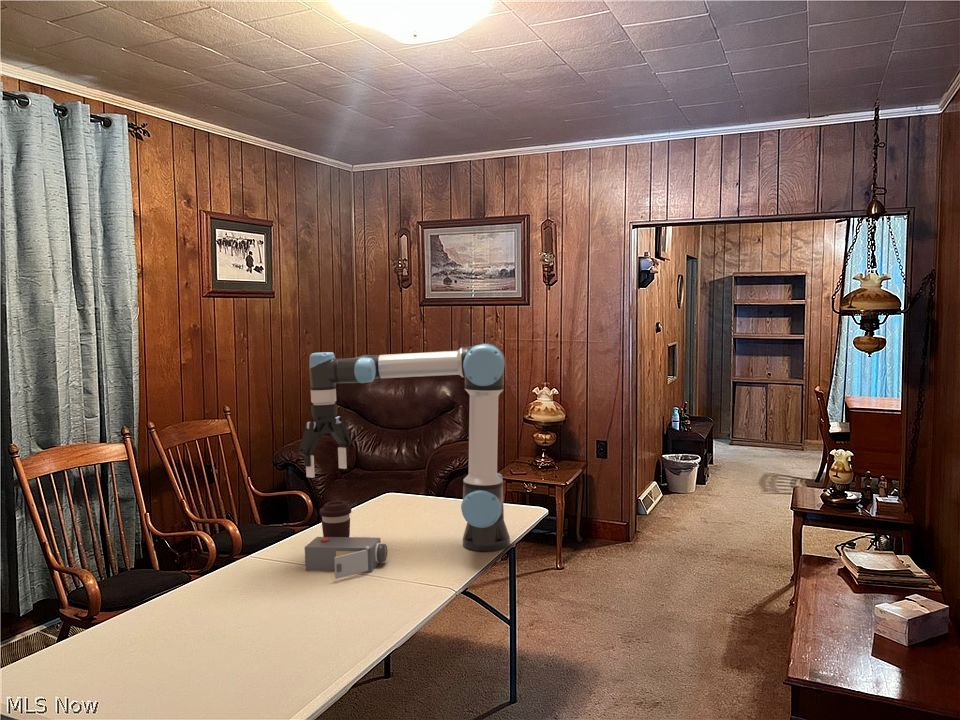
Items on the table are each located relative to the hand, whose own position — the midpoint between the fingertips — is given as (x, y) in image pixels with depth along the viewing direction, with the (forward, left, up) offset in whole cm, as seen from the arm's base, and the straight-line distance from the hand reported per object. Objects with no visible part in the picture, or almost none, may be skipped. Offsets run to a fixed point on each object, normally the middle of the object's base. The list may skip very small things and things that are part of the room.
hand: (327, 472), depth 219 cm
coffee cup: (+1, -9, -27) cm, 28 cm away
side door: (-12, +15, -26) cm, 32 cm away
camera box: (-7, +6, -27) cm, 28 cm away
